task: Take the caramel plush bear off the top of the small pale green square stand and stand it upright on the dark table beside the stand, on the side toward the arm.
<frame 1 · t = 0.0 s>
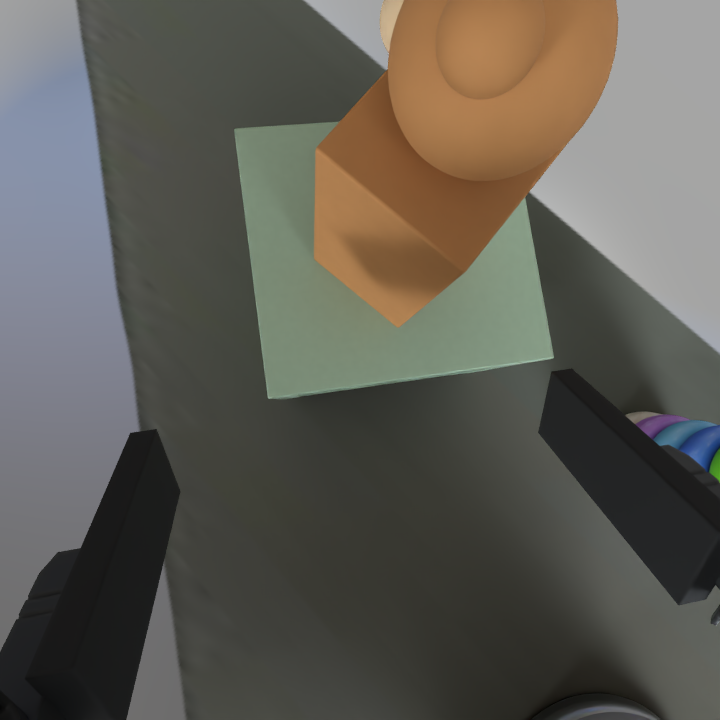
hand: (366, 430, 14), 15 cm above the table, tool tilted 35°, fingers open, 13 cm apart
pale green square stand: (369, 295, 31), on the table
plush bear: (396, 244, 21), point 10 cm above the table, touching pale green square stand
stacking toy: (635, 464, 32), on the table
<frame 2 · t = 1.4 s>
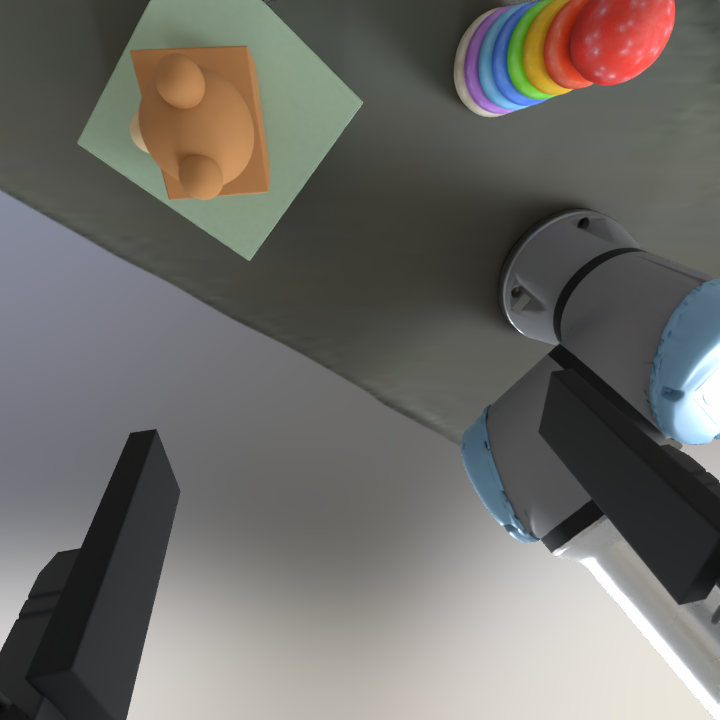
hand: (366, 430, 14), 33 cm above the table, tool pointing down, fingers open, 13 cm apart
pale green square stand: (235, 118, 37), on the table
plush bear: (223, 122, 29), point 10 cm above the table, touching pale green square stand
stacking toy: (492, 65, 39), on the table
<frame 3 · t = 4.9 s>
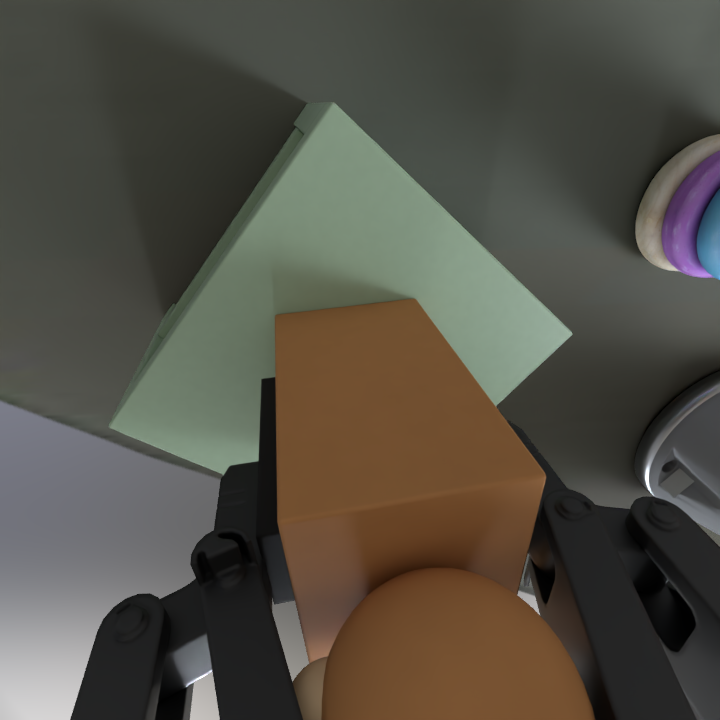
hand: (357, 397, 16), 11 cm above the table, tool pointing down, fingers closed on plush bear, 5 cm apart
pale green square stand: (325, 288, 26), on the table
plush bear: (351, 378, 17), point 10 cm above the table, touching gripper, pale green square stand
stacking toy: (684, 202, 27), on the table
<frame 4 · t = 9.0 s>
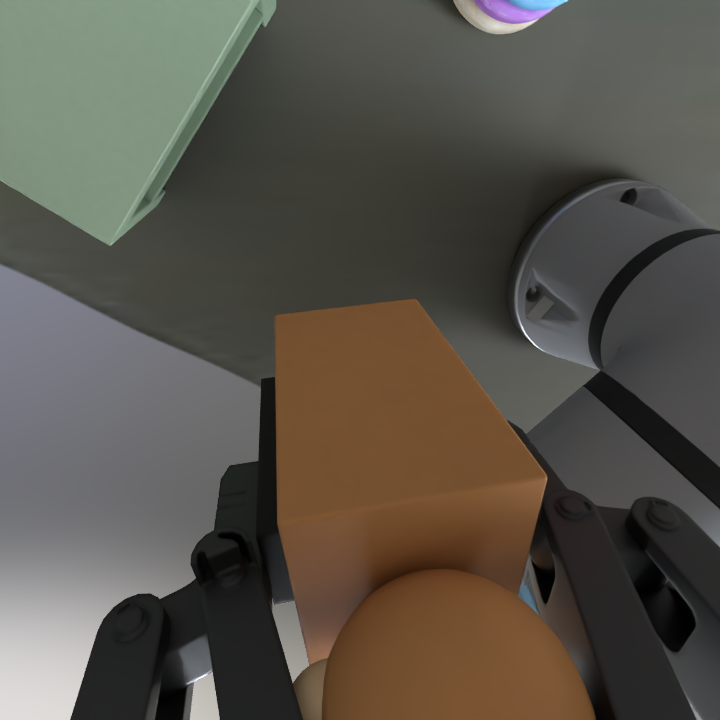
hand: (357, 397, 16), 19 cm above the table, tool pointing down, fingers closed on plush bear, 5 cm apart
pale green square stand: (108, 29, 24), on the table
plush bear: (351, 379, 17), point 18 cm above the table, touching gripper
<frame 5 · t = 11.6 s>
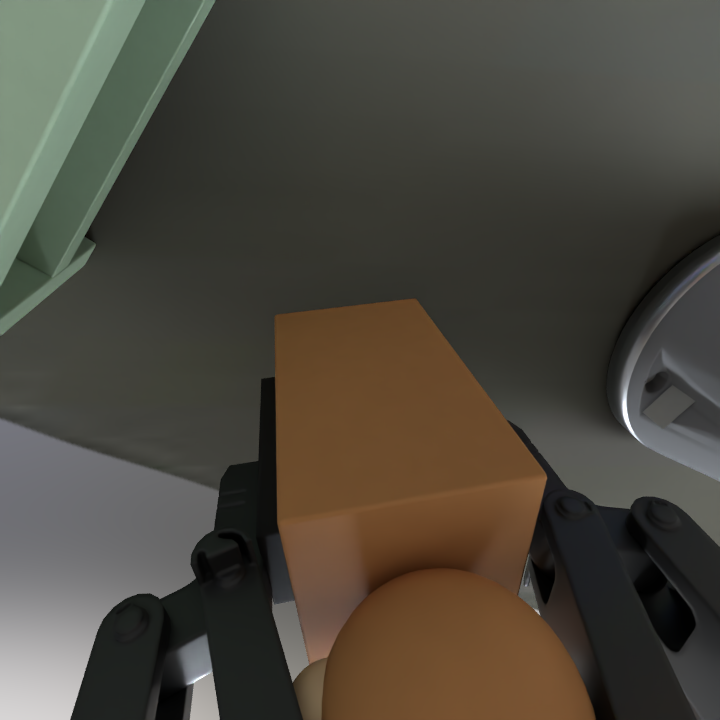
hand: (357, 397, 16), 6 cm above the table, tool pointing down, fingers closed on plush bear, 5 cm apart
plush bear: (351, 378, 17), point 5 cm above the table, touching gripper
when the fingers open (1 cm above the table, at t = 13.3 s): plush bear stays where it is, on the table.
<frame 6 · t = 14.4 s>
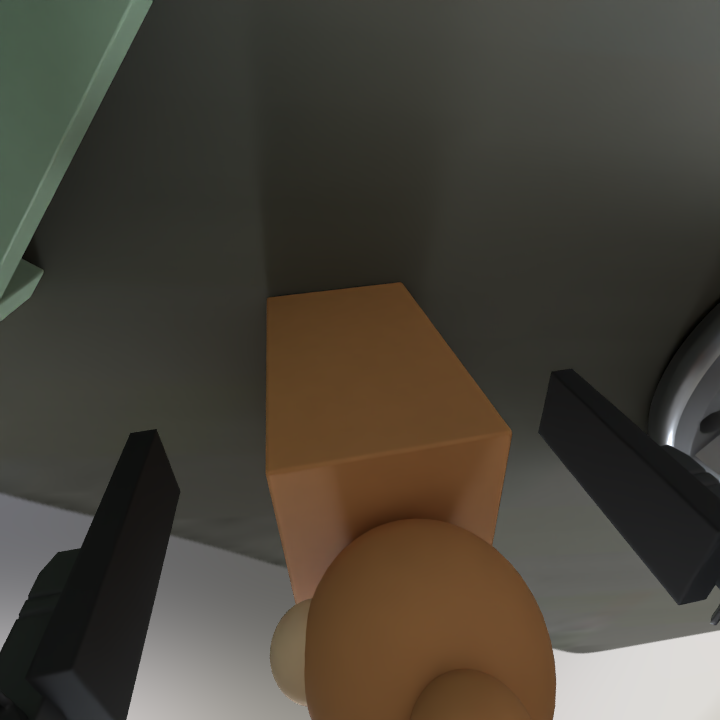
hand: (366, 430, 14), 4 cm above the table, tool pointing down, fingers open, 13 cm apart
plush bear: (341, 360, 18), on the table
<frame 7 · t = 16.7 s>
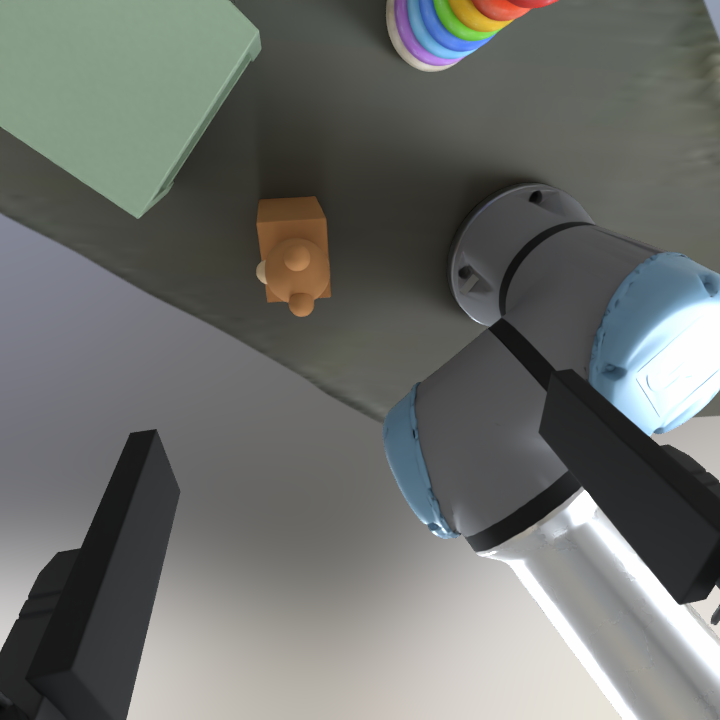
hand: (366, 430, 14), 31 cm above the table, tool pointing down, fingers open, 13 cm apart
pale green square stand: (136, 60, 33), on the table
plush bear: (291, 232, 41), on the table
stacking toy: (431, 13, 35), on the table
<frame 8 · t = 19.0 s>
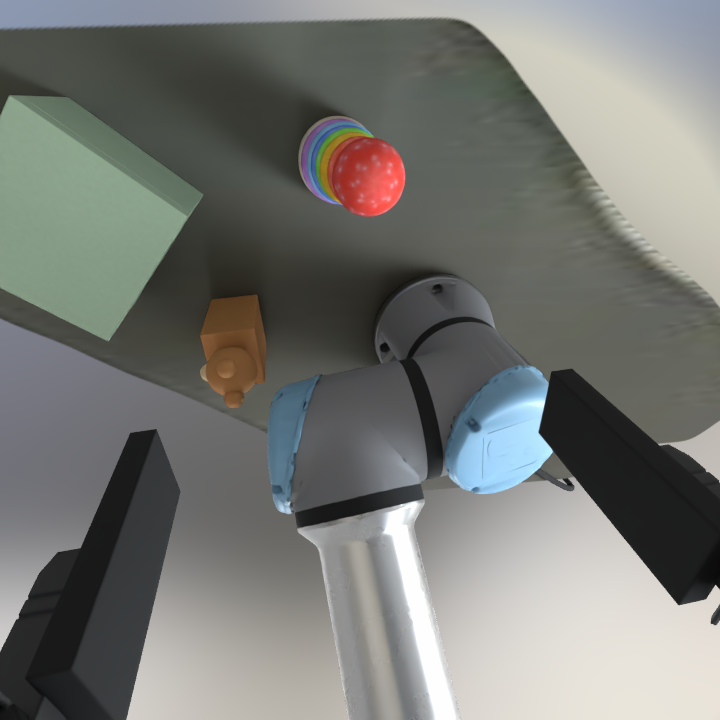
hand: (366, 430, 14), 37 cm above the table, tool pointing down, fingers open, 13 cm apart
pale green square stand: (106, 210, 42), on the table
plush bear: (239, 321, 51), on the table
stacking toy: (336, 159, 44), on the table
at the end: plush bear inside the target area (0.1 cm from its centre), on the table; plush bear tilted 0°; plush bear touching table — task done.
